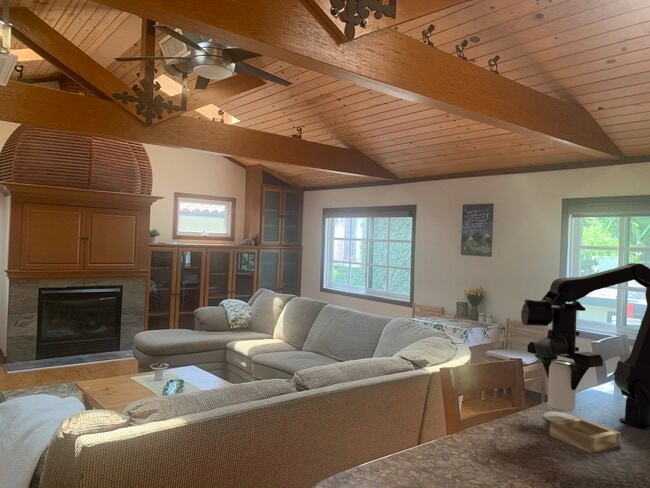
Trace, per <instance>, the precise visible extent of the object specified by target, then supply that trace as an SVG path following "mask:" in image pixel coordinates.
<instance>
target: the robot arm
mask: <svg viewBox="0 0 650 488" xmlns="http://www.w3.org/2000/svg"><path fill="white" fill-rule="evenodd" d="M631 281H635V282H636V283H637V284H639V285H641V286H642V287H644V288H646V289H645V299H646V301H645V302H646V309H645V312H644V315H643V317H642V321H641V323H640V326H639V329H638V332H637V335H636V338H635V340H634V342H633V346H632V349H631V352H630V355H629V356H628V358H627V359H626V360H624V361H621V360H618V361H617V363H616V368H615V371H614V372H612V375H614V377H613V378H614V380H613V381H614V382H615V385H616V387H617V388H619V390H620V393H621V395H623V396H625V397H626V399H625V406H624V407H625V409H624V417H621V418H619V422H621V423H625V424H627V425H629V426H634V427H636V428H639V429H643V430H646V429H650V267H648V266H647V265H645V264H643V263H639V262H638V263H636V262H628V263H627V264H626V265H622V266H618V267H615V268H611V269H607V270H604V271H600V272H595V273H592V274H589V275H585V276H575V277H574V276H571V277H564V278H557V279H554V280H553V281H552V283H551V285H550V288H549V290H548V291H547V292H546V294H545V295H544V296H543V297H542V299H541V300H537V299H536V300H534V299H530V298H529V299H524V304H523V306H522V308H521V309H522V310H521V311H520V318H521V321H522V325H523V326H530V327H531V326H534V327H535V326H537V327H548V326H549V324H550V325H551V329H548V331H547V336H545V337H543V338H541V339H539V340H535V341H529V343H528V344H527V349H526V350H527V353H529V354H533V355H534V357H535V358H537V359H538V360H539V361H540V362H541V363H542V365H543V367H544V371H545V374H546V377H547V380H548V381H549V366H550V364H551V360H558V358H559V357H562V358H566V359H569V360H573V363H574V364H568V365H569V367H570V368H571V389H572V390H575V389H576V390H577V387H578V386H579V384H580V382H581V381H582V379H583V377H584V376H585V374H586V373H587V372H588V370H589V369H590V368H596V367H603V366H604V358H603V357H602V355H601V354H599V353H595V352H591V351H582V352H579V351H580V347H579V346H576V345H577V344H576V343H577V341H576V339H577V337H578V336H580V331H579V330H578V331H577V313H578V312H579V311H581V312H582V311H583V312H585V311H586V307H585V306H583V305H582V304H581V303H580V301H579V300H581V299H582V298H584V297H586V296H587V295H589V294H591V293H593V292H595V291H598V290H602V289H606V288H609V287H613V286H616V285H620V284H623V283H624V284H625V283H627V282H631ZM577 311H578V312H577Z"/></svg>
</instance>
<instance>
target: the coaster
mask: <svg viewBox="0 0 650 488" xmlns="http://www.w3.org/2000/svg"><path fill="white" fill-rule="evenodd" d="M543 418H544V419H545V420H546V421H548V420H549V421H548V422H550V423H552V422H557V421H563V420H568V419H573V418H577V417H576V416H574V415H571V414H569V413H565V412H562V411H561V412H560V411H559V412H558V411H546V412H544V413H543Z"/></svg>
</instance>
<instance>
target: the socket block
mask: <svg viewBox="0 0 650 488" xmlns="http://www.w3.org/2000/svg"><path fill="white" fill-rule="evenodd" d="M621 434H622V433H621V432H620V431H617V430H615V429H612V428H609V427H606V426H603V425H601V424H599V423H596V422H593V421H590V420H588V419H585V418H582V417H576V418H573V419H568V420H563V421H557V422H550V423H549V436H550V437H553V438H554V439H558V440H560V441H562V442H564V443H567V444H569V445H571V446H574V447H576V448H578V449H580V450H582V451H586V452H588V453H589V454H591V453H595V452H599V451H603V450H604V451H605V450H608V449H613V448H615V447H620V446H621Z"/></svg>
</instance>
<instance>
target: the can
mask: <svg viewBox="0 0 650 488" xmlns="http://www.w3.org/2000/svg"><path fill="white" fill-rule="evenodd" d="M568 364H574V361H569V360H564V359H557V360H551V364H550V366H549V380H548V381H547V382H548V385H547V386H548V388H547V406H548V408H550V409H551V410H556V411H559V412H560V411H561V412H573V411H574V410H575V409H576V392H577V391H576V390H577V388H576V389H575V390H572V389H571V368H570V367H569V365H568Z"/></svg>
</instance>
